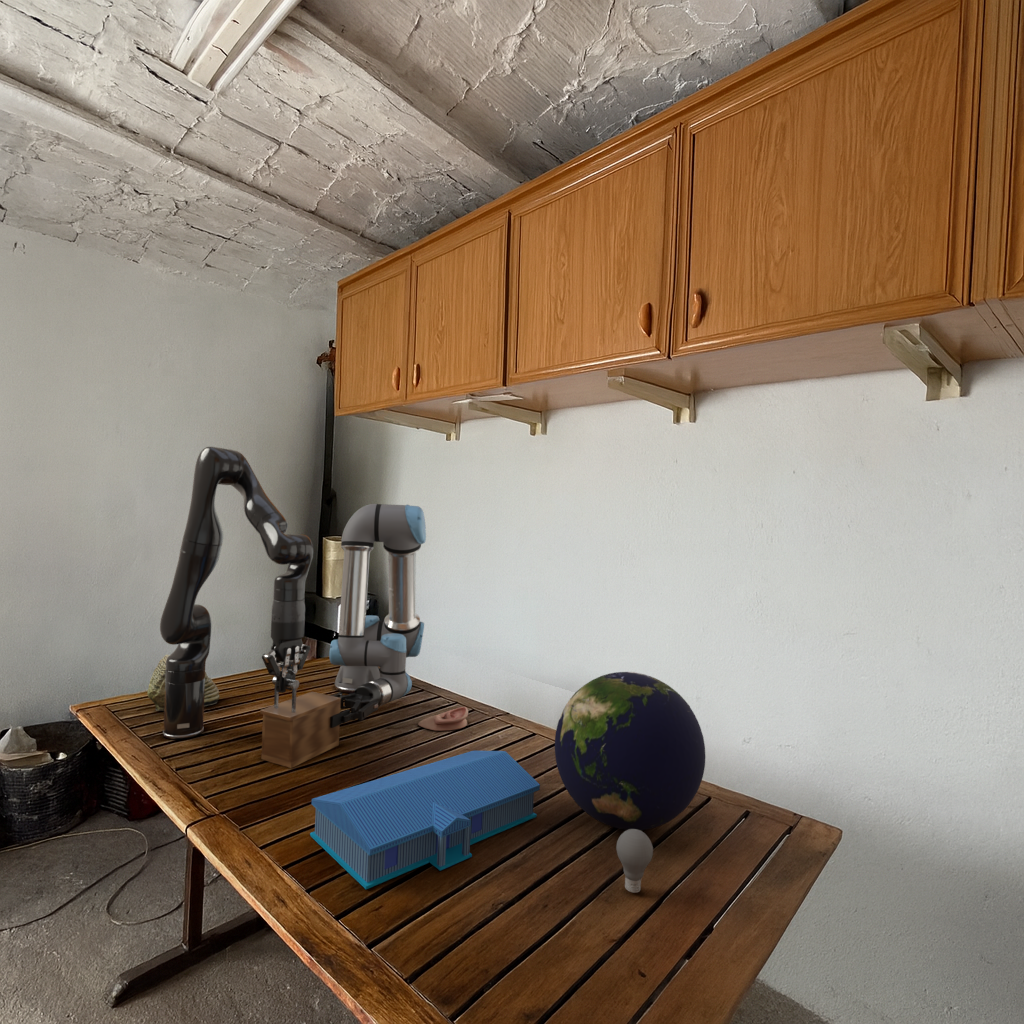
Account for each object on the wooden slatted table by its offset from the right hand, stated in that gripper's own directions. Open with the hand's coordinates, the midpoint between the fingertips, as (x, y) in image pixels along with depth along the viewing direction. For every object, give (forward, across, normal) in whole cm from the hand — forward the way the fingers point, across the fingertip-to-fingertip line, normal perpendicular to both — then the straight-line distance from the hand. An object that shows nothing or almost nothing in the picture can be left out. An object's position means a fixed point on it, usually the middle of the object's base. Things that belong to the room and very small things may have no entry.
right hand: (315, 718), depth 160 cm
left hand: (+11, 0, +10) cm, 14 cm away
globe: (-3, -80, -7) cm, 80 cm away
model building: (+19, -48, -7) cm, 52 cm away
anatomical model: (-30, -19, -7) cm, 37 cm away
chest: (+5, 0, -7) cm, 8 cm away
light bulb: (+19, -87, -7) cm, 89 cm away
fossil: (-2, +52, -7) cm, 53 cm away
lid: (+5, 0, +4) cm, 7 cm away
